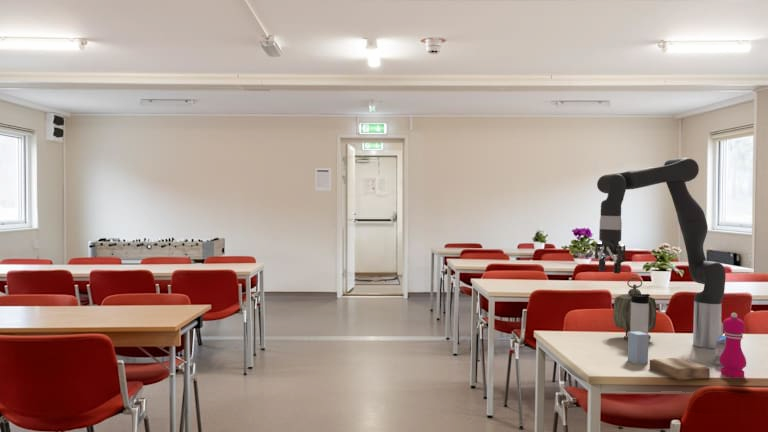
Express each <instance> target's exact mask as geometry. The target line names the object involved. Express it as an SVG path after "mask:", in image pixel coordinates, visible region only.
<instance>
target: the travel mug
mask: <svg viewBox="0 0 768 432" xmlns="http://www.w3.org/2000/svg"><path fill="white" fill-rule="evenodd" d="M649 297H651V294H649V293H646V294H643V293H641V294H636V295H632V296H631V299H632V300H631V323H630V332H637V331H640V332H643V333H646V334H649V331H648V313H649V305H648V304H649Z"/></svg>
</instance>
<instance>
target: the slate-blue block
mask: <svg viewBox="0 0 768 432" xmlns="http://www.w3.org/2000/svg"><path fill="white" fill-rule="evenodd" d="M649 335H650V334H649V333H648V334H646V333H643V332H640V331H637V332H629V331H628V334H627V337H628V340H627V361H628V362H630V361H631V363H632V362H633V364H635V363H636V364H635V365H642V364H643V365H645V364H646V365H647V364H648V363H649V341H650V339H649Z"/></svg>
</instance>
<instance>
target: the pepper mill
mask: <svg viewBox="0 0 768 432" xmlns="http://www.w3.org/2000/svg"><path fill="white" fill-rule="evenodd" d="M722 323H723V330H724V331H723V335H724V336H725V337H726V346H725V348H724V350H723V352H722V354H721V356H720V363H721V364H722V366H721V369H720V373H721V374H720V375H722V376H724V375H725V377H729V378H733V377H735V379H743V378H744V377H745V371H744V370H743V369H744V368H745V367H746V366H747V358H746V356H745V354H744V352H743V350H742V345H741V344H742V340H743V339H744V338H743V335H744V334H743V332H744V331H745V330H746V324H745V322H744V321H743V320H742V319H741V318H738V314H737V313H736V312H732V313H731V314H730V317H727V318H725V319H724V320H723V321H722ZM742 377H743V378H742Z"/></svg>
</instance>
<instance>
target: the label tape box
mask: <svg viewBox="0 0 768 432" xmlns="http://www.w3.org/2000/svg"><path fill="white" fill-rule="evenodd" d="M725 346H726V337H725V336H722V337H720V338H719V339H718V340H717V341H716V349H715V352H714V353H715V355H714V356H715V357H714V365H716V366H720V367H723V366H722V364H721V363H720V356H721V354H722V352H723V350H724V348H725Z"/></svg>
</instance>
